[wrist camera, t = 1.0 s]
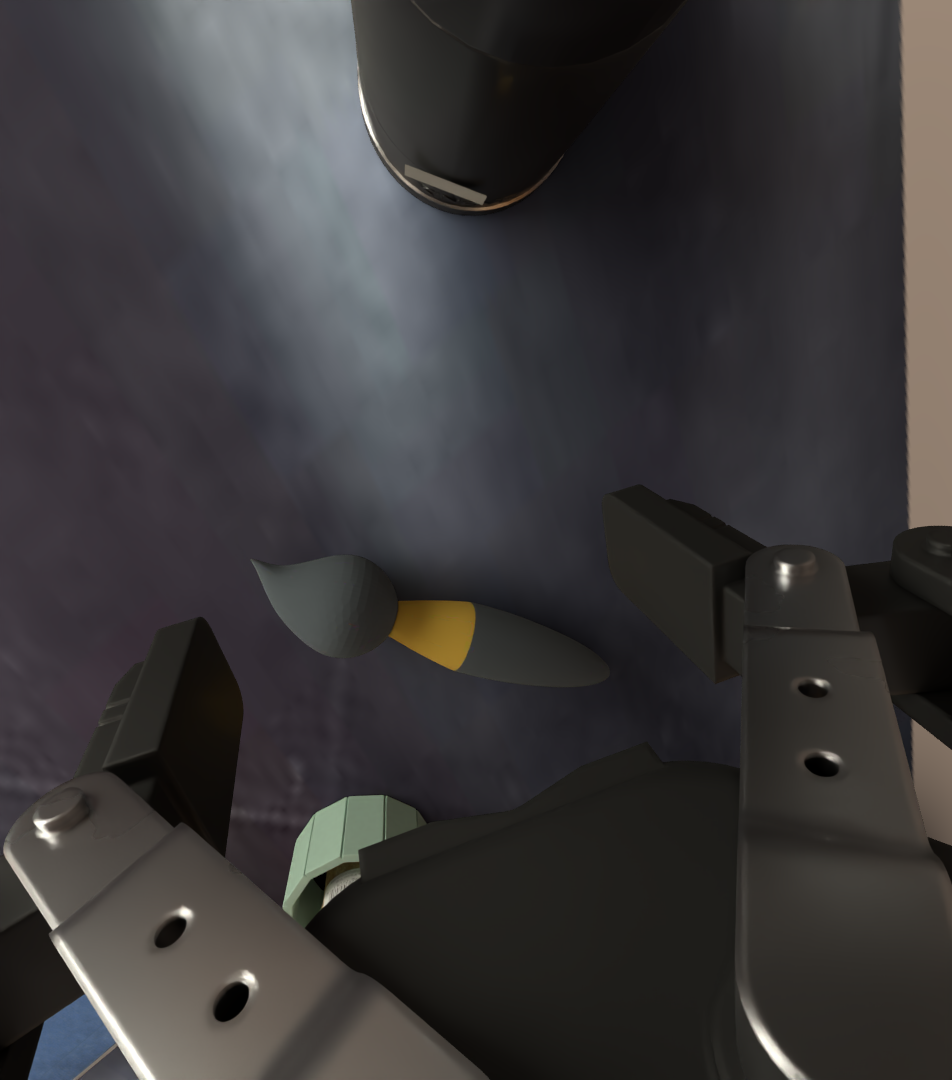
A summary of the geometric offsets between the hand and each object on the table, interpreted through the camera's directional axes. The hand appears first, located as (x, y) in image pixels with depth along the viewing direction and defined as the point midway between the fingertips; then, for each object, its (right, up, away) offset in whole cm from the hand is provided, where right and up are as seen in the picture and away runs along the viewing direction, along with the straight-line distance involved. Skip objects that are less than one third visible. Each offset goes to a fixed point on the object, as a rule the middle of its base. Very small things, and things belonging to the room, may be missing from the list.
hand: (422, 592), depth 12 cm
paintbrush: (-1, -3, +21) cm, 21 cm away
